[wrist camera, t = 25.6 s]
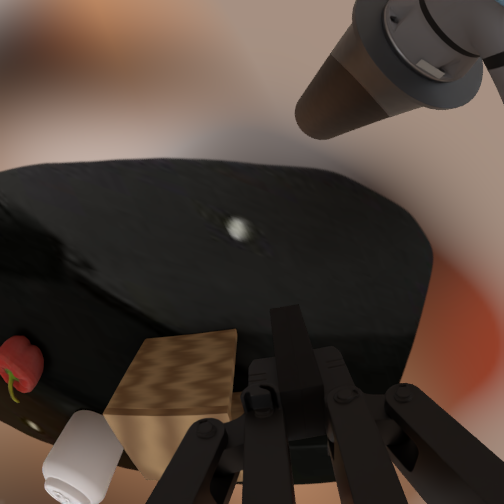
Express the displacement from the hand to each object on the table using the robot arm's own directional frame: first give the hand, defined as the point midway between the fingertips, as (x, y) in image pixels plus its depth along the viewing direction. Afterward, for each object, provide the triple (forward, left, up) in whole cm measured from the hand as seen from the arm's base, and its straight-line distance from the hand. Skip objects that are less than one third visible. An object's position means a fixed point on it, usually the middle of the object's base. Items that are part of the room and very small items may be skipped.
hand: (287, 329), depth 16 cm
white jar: (+52, +5, -25) cm, 58 cm away
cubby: (+22, +8, -24) cm, 34 cm away
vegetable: (+47, -15, -25) cm, 55 cm away
